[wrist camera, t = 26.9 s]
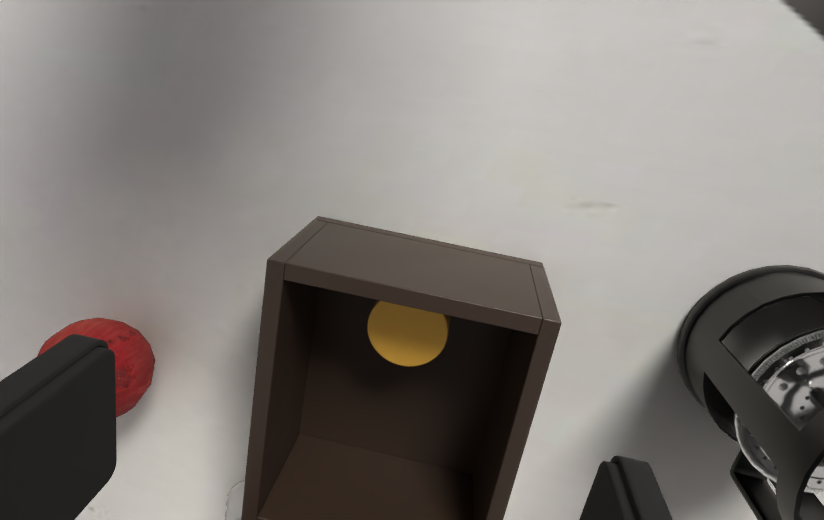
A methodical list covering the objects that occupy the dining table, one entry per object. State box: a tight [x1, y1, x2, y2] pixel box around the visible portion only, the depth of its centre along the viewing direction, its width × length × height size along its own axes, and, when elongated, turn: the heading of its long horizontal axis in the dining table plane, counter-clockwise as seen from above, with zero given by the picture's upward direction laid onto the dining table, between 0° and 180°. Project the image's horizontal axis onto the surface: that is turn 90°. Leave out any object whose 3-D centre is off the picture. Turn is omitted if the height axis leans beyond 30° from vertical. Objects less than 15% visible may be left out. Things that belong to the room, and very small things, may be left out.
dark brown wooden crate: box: [241, 216, 561, 520], centre depth 29 cm, size 15×13×8 cm
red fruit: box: [37, 318, 155, 417], centre depth 31 cm, size 6×6×8 cm
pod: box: [367, 300, 451, 366], centre depth 29 cm, size 4×4×4 cm
